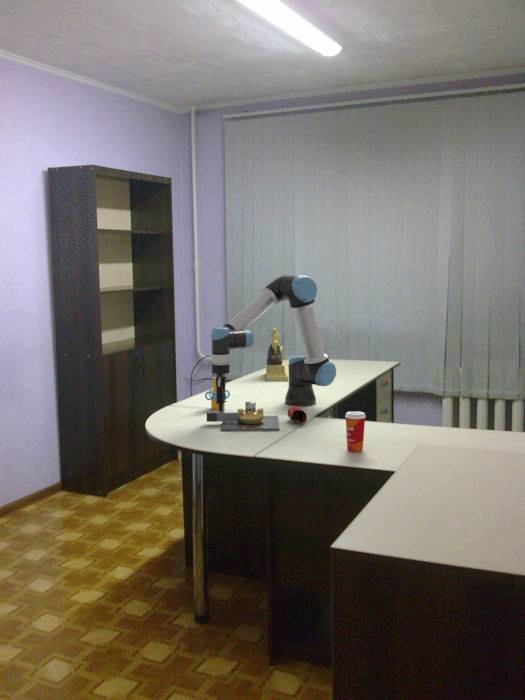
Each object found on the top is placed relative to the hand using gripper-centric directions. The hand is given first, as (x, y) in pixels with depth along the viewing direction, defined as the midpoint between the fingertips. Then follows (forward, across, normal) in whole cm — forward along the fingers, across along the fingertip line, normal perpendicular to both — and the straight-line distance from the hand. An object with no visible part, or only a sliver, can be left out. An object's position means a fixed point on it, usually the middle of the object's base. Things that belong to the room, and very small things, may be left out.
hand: (221, 417), depth 307 cm
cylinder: (+3, -31, -6) cm, 32 cm away
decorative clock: (+3, -123, +16) cm, 124 cm away
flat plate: (+2, +1, +13) cm, 13 cm away
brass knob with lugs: (+1, +1, +6) cm, 6 cm away
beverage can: (+3, -5, +32) cm, 33 cm away
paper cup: (+3, +40, +56) cm, 68 cm away
